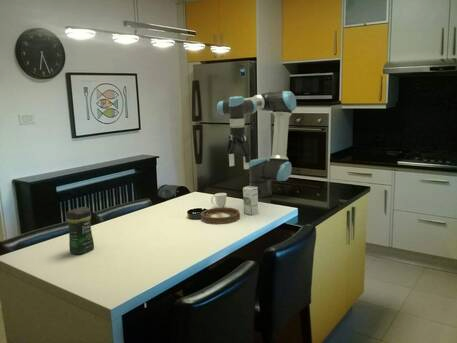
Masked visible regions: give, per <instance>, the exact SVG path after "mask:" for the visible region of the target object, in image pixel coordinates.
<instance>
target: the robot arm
mask: <svg viewBox="0 0 457 343" xmlns="http://www.w3.org/2000/svg"><path fill="white" fill-rule="evenodd" d="M296 107H297V99H296V96H295V94H294V93H293V92H292V91H290V90H282V91H269V92H264V93H261V94H255V95H254V96H252V97H245V98H244V96H230V97H228V100H220V101H218V102H217V105H216V111H217V113H218V114H219V115H223V116H226V115H229V126H230V128H229V133H230V135H228V142H227V145H226V149H225V153H227V154H228V162H229V164H228V165H229V167H235V154H234V152H235V150H236V147H237V146H239V147H240V149H241V152H242V154H243V156H242V158H243V159H242V160H243V170H249V185H248V186H253V187H257V190H258V199H261V198H267V197H270V196H272V189H271V187H270V183H269V181H277V182H284V181H285V182H286V181H287V180H289V178H290V177H291V174H292V172H293V171H292V168H293V167H292V163H291V161H289V158H288V156H287V153H288V152H287V150H288V138H289V137H288V136H289V135H288V134H289V121H290V117H291V116H292V114H293V111H296ZM257 111H258V112H259V111H267V112H268V111H269V112H272V114H273V116H274V122H273V124H274V125H273V134H272V135H273V137H272V148H271V149H272V151H271V156H269V159H268V158H267V157H263V158H256V159H251V160H250V156H252V151H251V147H250V144H249V140H248V137H247V136H244V135H245V133H246V128H245V115H252V114H255V113H256V112H257Z"/></svg>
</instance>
